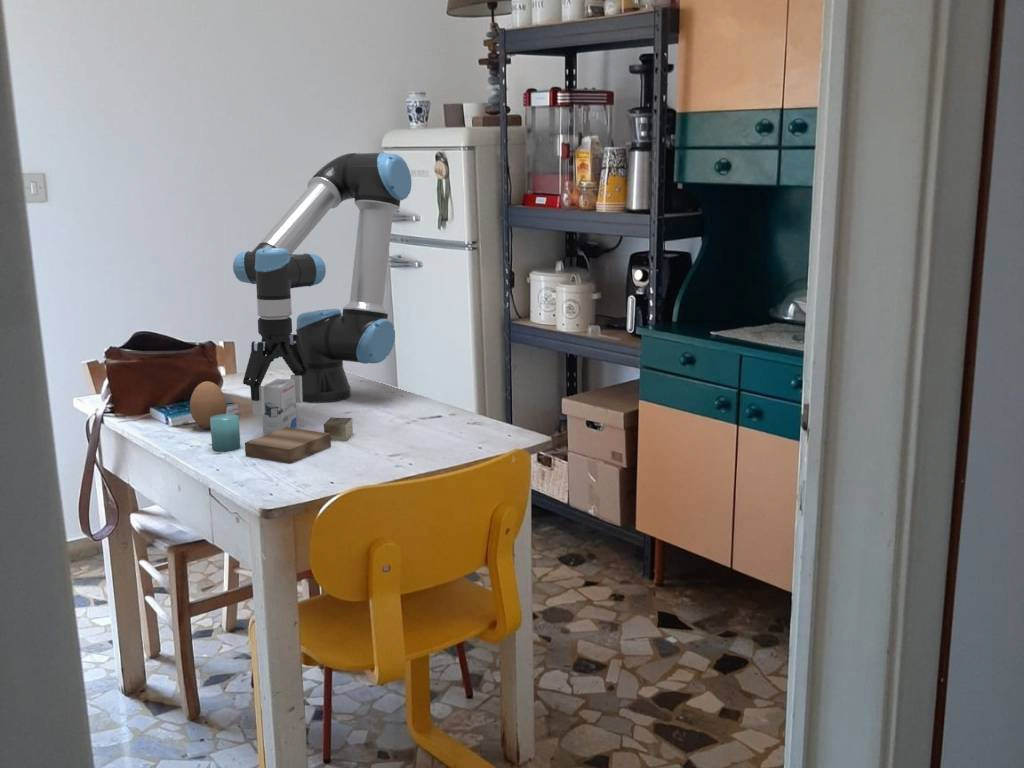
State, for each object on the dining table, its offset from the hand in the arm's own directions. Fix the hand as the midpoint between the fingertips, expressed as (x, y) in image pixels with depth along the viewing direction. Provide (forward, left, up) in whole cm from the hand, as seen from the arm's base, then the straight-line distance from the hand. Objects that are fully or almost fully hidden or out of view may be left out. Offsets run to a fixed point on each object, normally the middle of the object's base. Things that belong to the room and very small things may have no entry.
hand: (278, 408), depth 227 cm
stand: (+12, +12, -6) cm, 18 cm away
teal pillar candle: (+16, -2, -6) cm, 17 cm away
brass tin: (-2, +15, -6) cm, 16 cm away
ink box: (0, 0, -6) cm, 6 cm away
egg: (+5, -17, -6) cm, 19 cm away
